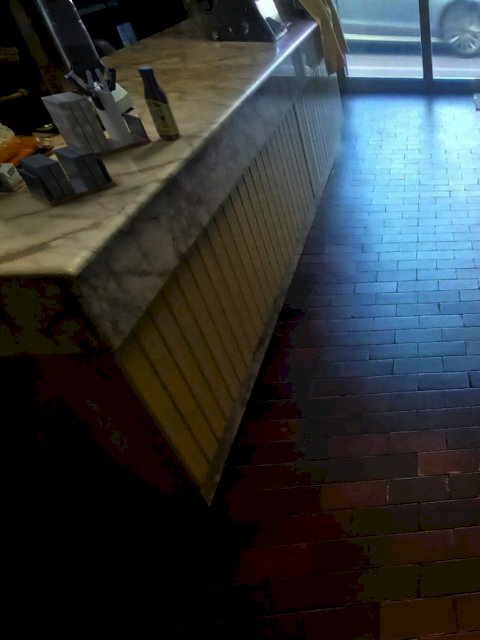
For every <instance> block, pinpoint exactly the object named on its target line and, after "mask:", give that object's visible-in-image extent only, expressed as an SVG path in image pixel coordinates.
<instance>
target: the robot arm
mask: <svg viewBox="0 0 480 640" xmlns="http://www.w3.org/2000/svg"><path fill="white" fill-rule="evenodd" d="M39 1H40V4H41V6H42V8H43V10H44V13H45V14H46V16H47V19H48V21H49V23H50V25H51V27H52V28H51V29H52V31H53V33H54V35H55V38H56V39H57V42H58V43H59V46H60V48H61V50H62V52H63V54H64V56H65V58H66V60H67V62H68V63H69V69H70V72H69V73H68V74H64V75H63V78H64V79H65V81H67V82H68V83H69V85H71V86H72V87H73V88H74V89H75V90H76V91H77V92H78V93H79V94H80V95H81V96H85V97H89V98H90V97H91V98H90V100H91V99H92V100H91V102H92V101H93V102H92V104H93V103H94V104H93V106H94V105H95V106H94V108H95V107H96V108H97V109H99V110H101V111H104V110H105V109H104V107H103V105H102V103H101V101H100V99H99V97H97V93H96V90H95V87H96V85H97V86H98V88H99V89H102V90H105V91H108V92H111V93H113V92H115V91H116V89H117V69H116V68H114V67H111V66H106V65H105V64H104V63H103V62H102V61H101V59H100V56H99V54H98V51H97V50H96V48H95V45H94V43H93V41H92V38H91V36H90V34H89V31H88V29H87V28H86V26H85V24H84V23H83V20H82V19H81V16H80V14H79V12H78V10H77V8H76V6H75V4H74V2H73V0H39ZM105 74H106V80H105V78H104V76H105ZM78 78H79V79H80V80H81V81H82V83H83V85H84V86H82V85H81V84H80V82H79V81H78ZM95 84H96V85H95ZM86 89H87V90H86ZM96 108H95V109H96Z"/></svg>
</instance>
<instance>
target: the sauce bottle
mask: <svg viewBox="0 0 480 640" xmlns="http://www.w3.org/2000/svg"><path fill="white" fill-rule="evenodd" d="M136 69H137V72H138V74H139V75H140V79H141V80H142V84H143V97H144V98H143V99H144V101H145V104H146V106H147V110H148V112H149V115H150V117H151V120H152V123H153V125H154V128H155V131H156V132H157V134H158V137H159V138H160V139H161V140H165V141H173V140H177V139H179V138H180V137H181V132H180V128H179V125H178V123H177V119H176V117H175V114H174V112H173V109H172V106H171V103H170V101H169V99H168V96H167V93H166V91H165V89H163V88H162V86H161V85H160V84H159V82H158V80H157V77H156V75H155V70H154V67H153V66H151V65H141V66H137V68H136Z"/></svg>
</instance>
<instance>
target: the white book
mask: <svg viewBox="0 0 480 640" xmlns="http://www.w3.org/2000/svg"><path fill="white" fill-rule="evenodd" d="M85 89H86V88H85ZM86 90H87V89H86ZM95 90H96V93H97V97H99V99H100V101H101V103H102V105H103V107H104V109H105V110H104V111H101V110H99V109H97V108H96V107H95V105H94V103H93V101H92V99H91V97H90V96H89V98H90V100H91V102H92V104H93V106H94V108H95V110H96V113H97V114H98V117H99V118H100V120H101V123H102V125H103V127H104V129H105V131H106V133H107V135H108V138H110V139H113V140H116V141H118V142H121V143H123V144H126V145H128V144H131V143H134V141H133V139H132V137H131V135H130V130H129V128H128V126H127V124H126V122H125V119H124V117H123V115H122V112H121V111H120V109H119V105H118V104H117V102H116V99H115V98H114V95H113V92H108V91H105V90H102V89H100V87H96V86H95Z"/></svg>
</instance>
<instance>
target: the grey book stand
mask: <svg viewBox="0 0 480 640" xmlns="http://www.w3.org/2000/svg"><path fill="white" fill-rule="evenodd" d="M40 98H41V100H42V102H43V104H44V106H45V109H46V110H47V112H48V113H49V115H50V117H51V120H52V121H53V123H54V124H55V126H56V128H57V130H58V132H59V134H60V136H61V138H62V140H63V141H64V143H65V144H66V146H70V145H75V146H78V147H80V148H82V149H85V150H87V151H90V152H92V154H93V155H94V156H96V157H98V158H101V157H105V156H108V155H111V154H115V153H118V152H121V151H125V150H129V149H132V148H136V147H139V146H142V145H146V144H150V143H152V140H151V138H150V137H149V135H148V133H147V131H146V129H145V126H144V124H143V121H142V119H141V118H140V117H138V116H135V115H132V114H130V113H126V112H124V111H123V112H121V115H122V117H123V119H124V121H125V124H126V126H127V128H128V130H129V132H130V135H131V137H132V139H133V141H134V143H131V144H128V145H126V144H123V143H121V142H118V141H116V140H113V139H110V137H108V138H107V136H106V134H105V132H104V130H103V128H102V126H101V124H100V122H99V119H98V117H97V115H96V113H95V111H94V109H93V108H92V105H91V104H90V101H89V99H88V97H87V96H84V95H82V94H78V93H74V92H72V91H67V92H62V93H61V92H60V93H56V94H52V95H47V96H42V97H40Z"/></svg>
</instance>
